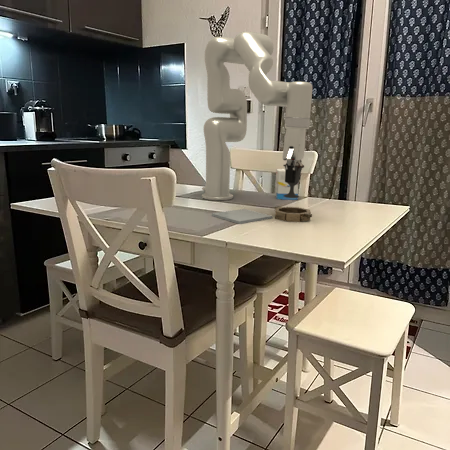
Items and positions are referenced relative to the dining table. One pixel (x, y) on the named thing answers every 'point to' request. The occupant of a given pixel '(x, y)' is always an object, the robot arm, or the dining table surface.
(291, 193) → the sundae
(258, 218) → the plate
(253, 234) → the dining table surface
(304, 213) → the collar
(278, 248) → the dining table surface
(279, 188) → the ink box
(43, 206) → the dining table surface
